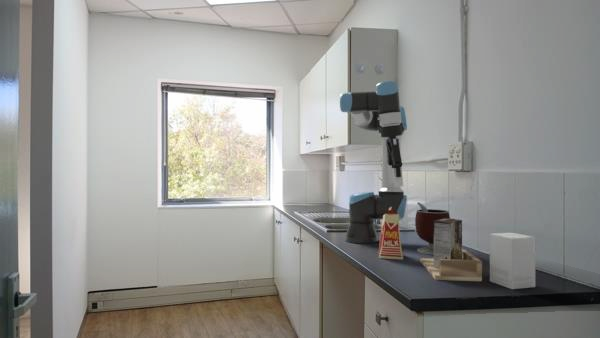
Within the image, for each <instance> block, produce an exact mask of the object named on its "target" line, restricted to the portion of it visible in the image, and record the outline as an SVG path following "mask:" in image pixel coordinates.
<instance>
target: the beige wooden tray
mask: <svg viewBox="0 0 600 338" xmlns="http://www.w3.org/2000/svg"><path fill="white" fill-rule="evenodd" d="M419 261H420V263H421V265H422V266H423V267H424V268H425V270H427V272H428V273H429V274H430V275H431V276H432V277H433V278H434V281H435V280H436V281H460V282H462V281H465V282H483V261H482V260H480V259H479V258H478V257H476V256H475V255H473V254H472V253H470V252H469V251H467V250H466V249H465V248H463V247H462V260H457V259H439V268H434V257H420V258H419Z"/></svg>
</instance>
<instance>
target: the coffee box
mask: <svg viewBox="0 0 600 338" xmlns="http://www.w3.org/2000/svg"><path fill="white" fill-rule="evenodd" d="M462 248H463V219H455V218H451V217H450V218H443V219H439V220H435V221H434V255H433V258H434V268H439V259H457V260H462Z"/></svg>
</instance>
